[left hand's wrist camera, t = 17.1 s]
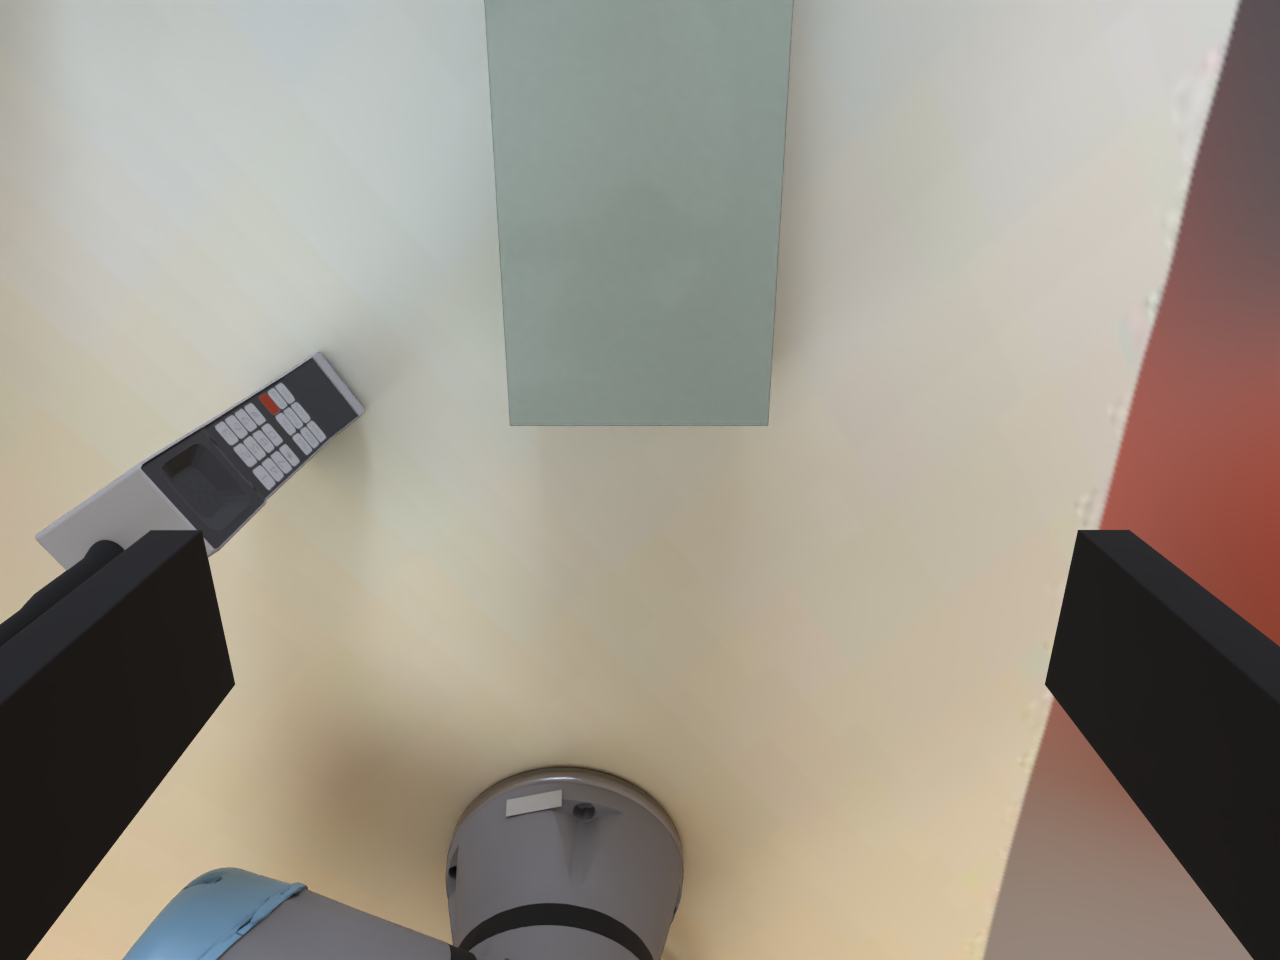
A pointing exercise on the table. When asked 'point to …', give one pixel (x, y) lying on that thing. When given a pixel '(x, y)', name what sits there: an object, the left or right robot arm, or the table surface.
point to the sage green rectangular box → (639, 206)
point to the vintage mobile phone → (200, 479)
